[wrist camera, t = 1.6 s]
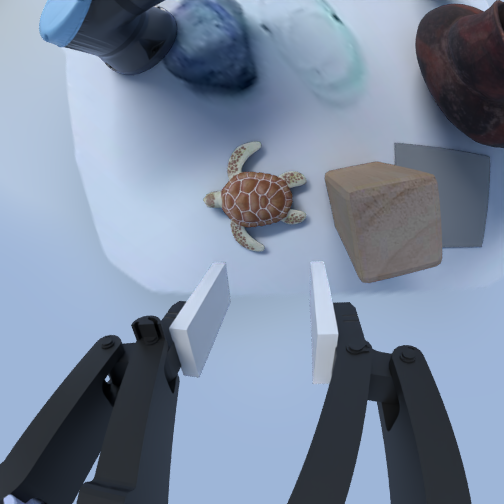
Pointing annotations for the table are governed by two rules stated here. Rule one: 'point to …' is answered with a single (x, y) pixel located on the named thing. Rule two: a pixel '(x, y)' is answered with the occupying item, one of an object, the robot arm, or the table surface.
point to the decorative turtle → (255, 197)
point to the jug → (466, 67)
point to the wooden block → (386, 218)
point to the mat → (454, 189)
